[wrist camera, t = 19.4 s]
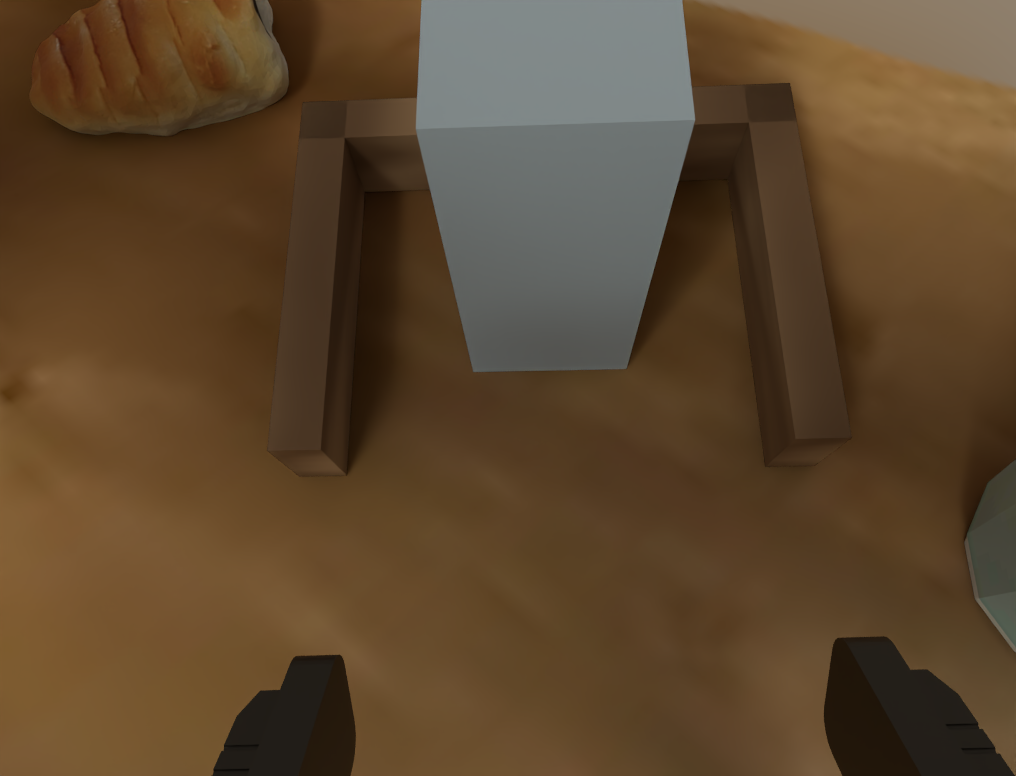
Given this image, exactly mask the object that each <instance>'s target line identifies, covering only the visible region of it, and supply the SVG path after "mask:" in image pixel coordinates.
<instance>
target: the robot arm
mask: <svg viewBox="0 0 1016 776" xmlns="http://www.w3.org/2000/svg"><path fill="white" fill-rule="evenodd" d="M824 723H825V730H826V735H827V739H828V743H829V746H830V749H831V751H832V754H833V756H834V758H835V760H836V763H837V765H838V767H839V769H840V771H841V774H842V776H1015V775H1014V774H1013V772H1012V771H1011V770H1010V768H1009V767H1008V765H1007V764H1006V762H1005V761H1004V759H1003V758H1002V757H1001V755H1000V754H997V753H996V751H995V747H994V745H993V744H992V742H991V741H990V739H989V738H988V736H987V735H986V734H985V732H984V731H983V729H979V726H978V722H977V721H976V719H975V718H974V716H973V715H972V713H971V712H970V711H969V709H968V708H967V706H966V705H965V703H964V702H963V701H962V699H961V698H960V696H959V695H958V694H957V693H956V692H955V691H953V690H952V689H951V688H950V687H948V686H947V685H946V684H945V683H943V682H942V681H941V680H940V679H938V678H937V677H936V676H935V675H933V674H932V673H931V672H930V671H928V670H910V669H909V667H908V665H907V664H906V662H905V661H904V659H903V658H902V656H901V655H900V653H899V651H898V650H897V648H896V647H895V645H894V644H893V642H892V641H891V640H890V639H889V638H887V637H884V636H883V637H851V638H837V639H836V640H835V642H834V644H833V649H832V656H831V663H830V670H829V677H828V684H827V691H826V698H825V705H824ZM355 742H356V732H355V721H354V715H353V710H352V704H351V698H350V693H349V687H348V681H347V676H346V670H345V664H344V660H343V658H342V656H341V655H317V656H296V657H294V658H293V660H292V661H291V664H290V666H289V668H288V671H287V674H286V676H285V679H284V681H283V684H282V686H281V689H280V690H266V691H260V692H259V693H258V694H257V695H256V696H255V697H254V698H253V699H252V700H251V701H250V703H249V704H248V705H247V706H246V707H245V708H244V709H243V710H242V711H241V712H240V713H239V714H238V715H237V717H236V719H235V721H234V724H233V726H232V728H231V731H230V733H229V735H228V737H227V740H226V742H225V744H224V751H221V753H220V756H219V758H218V760H217V762H216V765H215V767H214V769H213V770H214V772H213V776H350V775H351V771H352V767H353V762H354V755H355Z"/></svg>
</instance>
